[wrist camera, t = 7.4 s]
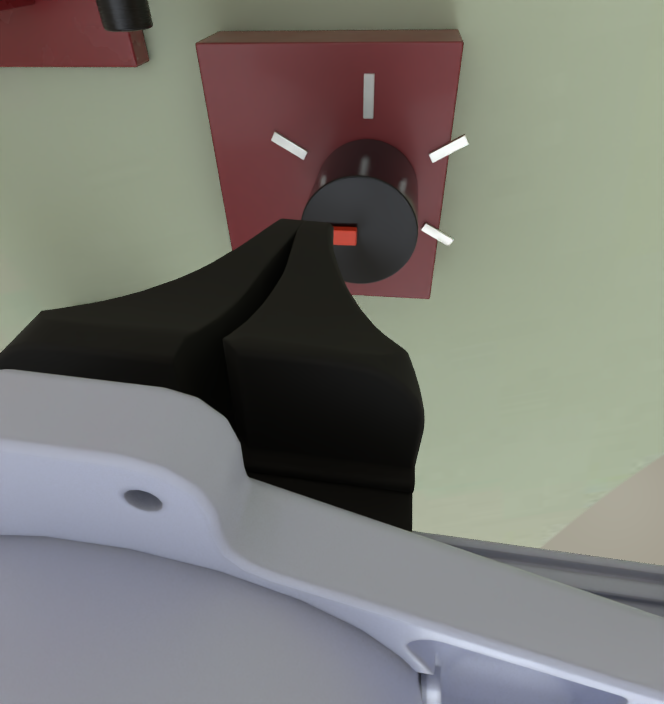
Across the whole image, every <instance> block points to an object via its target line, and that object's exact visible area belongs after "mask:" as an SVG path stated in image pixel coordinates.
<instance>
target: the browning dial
mask: <svg viewBox="0 0 664 704" xmlns="http://www.w3.org/2000/svg"><path fill="white" fill-rule="evenodd" d="M301 220H305V221H316V222H327V223H330V224H331V225H332V226H333V227H334V239H333V250H334V254H335V257H336V261H337V264H338V267H339V270H340V272H341V275H342V277H343V280H344V282H348V283H355V284H367V283H374V282H378V281H381V280H384V279H386V278H388V277H390V276H392V275H393V274H395V273H396V272H398V271H399V270H400V269H401V268H402V267H403V266H404V265H405V264H406V263H407V262H408V260H409V259H410V257H411V256H412V254H413V252H414V250H415V247H416V244H417V239H418V182H417V177H416V173H415V171H414V168H413V166H412V165H411V163H410V161H409V160H408V159H407V157H406V156H405V155H404V154H403V153H402V152H401V151H400V150H398V149H397V148H395V147H394V146H392V145H390V144H388V143H386V142H383V141H379V140H375V139H359V140H354V141H351V142H348V143H346V144H344V145H342V146H340V147H338V148H337V149H335V150H334V151H333V152H332V153H331V154H330V155H329V156H328V157H327V159H326V160H325V161H324V163H323V165H322V166H321V169H320V171H319V173H318V176H317V178H316V181H315V183H314V186H313V188H312V190H311V193H310V195H309V198H308V200H307V203H306V205H305V208H304V210H303V213H302V217H301Z"/></svg>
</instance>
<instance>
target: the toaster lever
mask: <svg viewBox="0 0 664 704" xmlns="http://www.w3.org/2000/svg"><path fill="white" fill-rule="evenodd" d="M96 4H97V7H98V11H99V14H100V18H101V21H102V25H103V28H104V29H105V30H106V31H110V32H129V31H139V30H145V29H149V28H151V27H152V26H153V23H152V18H151V14H150V9H149V5H148V1H147V0H96Z"/></svg>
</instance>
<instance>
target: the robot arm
mask: <svg viewBox="0 0 664 704" xmlns="http://www.w3.org/2000/svg"><path fill="white" fill-rule="evenodd" d="M333 239H334V227H333V226H332V225H331V224H330V223H327V222H316V221H305V220H294V219H282V218H281V219H280V220H278V221H276V222H275V223H273V224H272V225H270V226H269V227H267V228H266V229H264V230H263V231H262V232H260V233H259V234H257V235H256V236H254V237H253V238H251V239H250V240H248V241H247V242H245V243H244V244H243V245H241V246H240V247H238V248H236V249H235V250H233V251H231V252H229V253H228V254H226V255H224V256H223V257H221V258H219V259H218V260H216V261H214V262H213V263H211V264H209V265H207V266H205V267H203V268H201V269H199V270H197V271H194V272H192V273H190V274H188V275H185V276H183V277H181V278H178V279H176V280H173V281H170V282H167V283H164V284H161V285H158V286H156V287H153V288H150V289H147V290H144V291H141V292H137V293H133V294H130V295H126V296H122V297H118V298H114V299H109V300H105V301H100V302H95V303H90V304H84V305H78V306H71V307H65V308H59V309H53V310H45V311H41V312H40V313H39V314H38V315H37V316H36V317H35V318H34V319H33V320H32V321H31V322H30V323H29V324H28V325H27V326H26V327H25V328H24V329H23V330H22V331H21V333H20V334H19V335H18V336H17V337H16V338H15V339H14V340H13V341H12V342H11V343H10V344H9V345H8V346H7V347H6V348H5V349H4V350H3V351H2V352H1V353H0V704H664V566H662V565H654V564H647V563H640V562H632V561H625V560H618V559H611V558H604V557H596V556H590V555H582V554H575V553H568V552H561V551H553V550H546V549H539V548H532V547H525V546H517V545H510V544H503V543H496V542H488V541H481V540H474V539H467V538H460V537H452V536H445V535H438V534H431V533H423V532H416V531H412V493H413V491H414V485H415V464H416V459H417V455H418V451H419V447H420V443H421V439H422V435H423V431H424V408H423V402H422V397H421V392H420V388H419V384H418V381H417V377H416V374H415V371H414V368H413V365H412V362H411V360H410V357H409V354H408V353H407V352H406V350H404V349H403V348H402V347H400V346H399V345H398V344H396V343H395V342H393V341H392V340H391V339H389V338H388V337H387V336H385V335H384V334H383V333H382V332H381V331H380V330H378V329H377V328H376V327H375V326H374V325H373V323H372V322H371V321H370V320H369V319H368V317H367V316H366V315H365V314H364V313H363V312H362V310H361V309H360V307H359V306H358V304H357V303H356V301H355V300H354V298H353V297H352V295H351V293H350V292H349V290H348V288H347V286H346V284H345V282H344V280H343V277H342V275H341V272H340V270H339V267H338V264H337V261H336V257H335V254H334V250H333Z"/></svg>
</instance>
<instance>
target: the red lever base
mask: <svg viewBox="0 0 664 704" xmlns="http://www.w3.org/2000/svg"><path fill="white" fill-rule="evenodd" d="M148 61H149V56H148V52H147V48H146V44H145V39H144V35H143V31H142V30H139V31H129V32H110V31H106V30H105V29H104V28H103V25H102V21H101V18H100V14H99V11H98V7H97V4H96V0H0V67H138V66H140V65H142V64H144V63H146V62H148Z"/></svg>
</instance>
